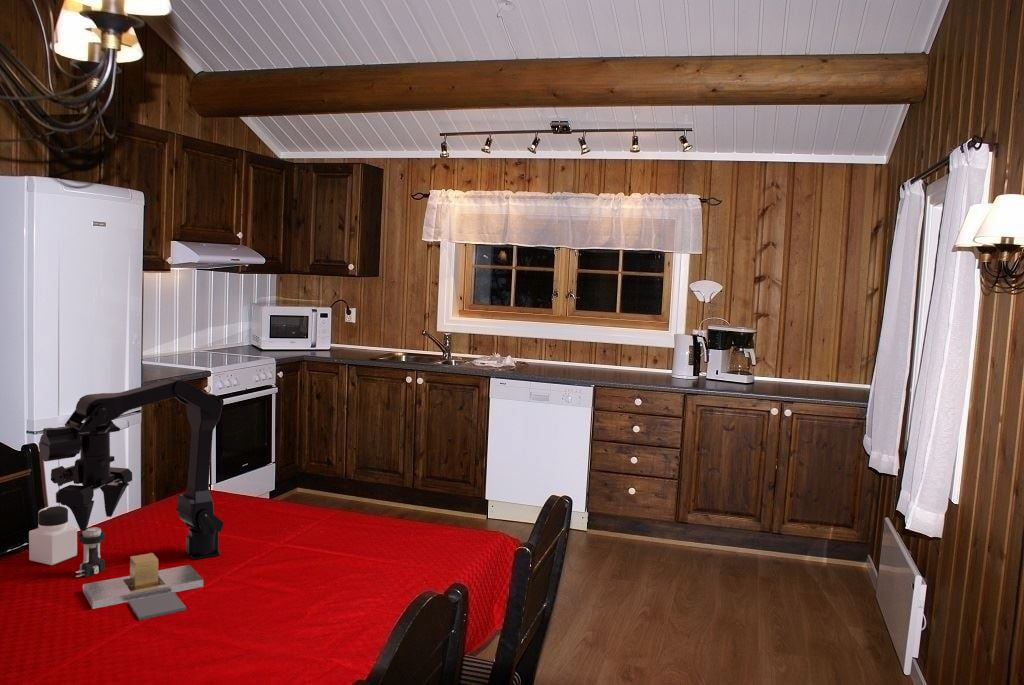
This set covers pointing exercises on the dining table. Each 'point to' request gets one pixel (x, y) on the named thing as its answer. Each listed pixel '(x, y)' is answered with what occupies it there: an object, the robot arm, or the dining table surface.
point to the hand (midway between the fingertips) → (96, 523)
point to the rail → (120, 593)
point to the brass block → (143, 571)
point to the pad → (156, 605)
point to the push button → (91, 552)
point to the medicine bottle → (52, 537)
